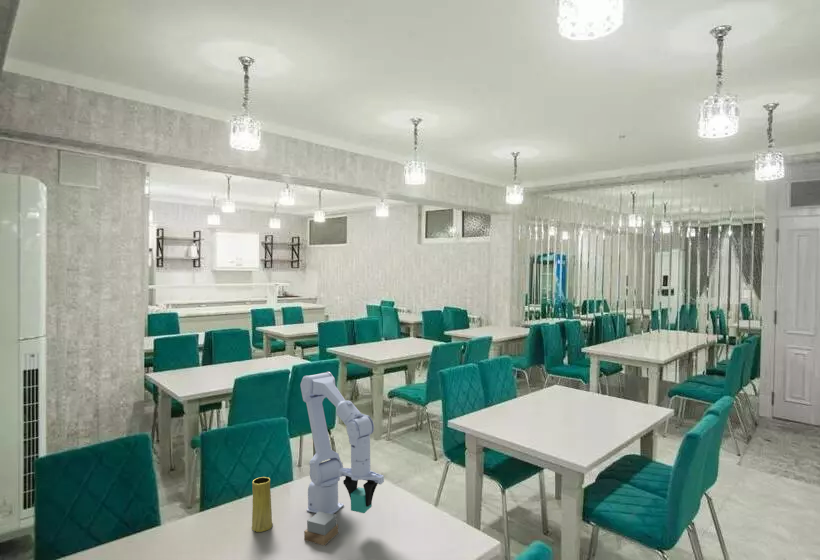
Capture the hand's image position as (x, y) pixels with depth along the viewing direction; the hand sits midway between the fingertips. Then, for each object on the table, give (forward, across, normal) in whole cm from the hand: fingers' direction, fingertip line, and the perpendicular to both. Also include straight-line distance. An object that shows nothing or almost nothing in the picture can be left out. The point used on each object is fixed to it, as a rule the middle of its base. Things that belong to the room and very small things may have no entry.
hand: (361, 503), depth 139 cm
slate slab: (+6, -9, -7) cm, 13 cm away
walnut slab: (+9, -10, -7) cm, 15 cm away
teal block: (+2, 0, 0) cm, 2 cm away
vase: (+9, -29, -10) cm, 32 cm away
